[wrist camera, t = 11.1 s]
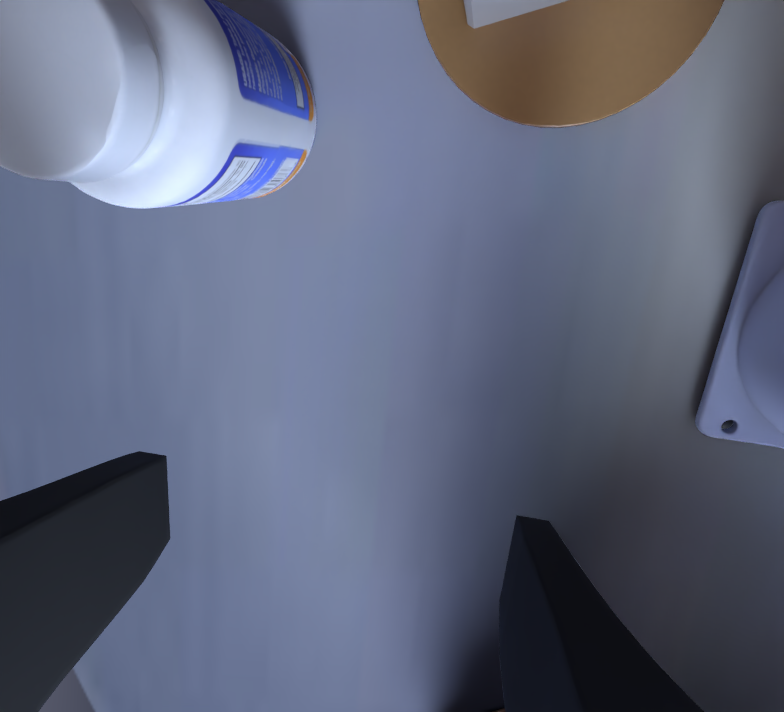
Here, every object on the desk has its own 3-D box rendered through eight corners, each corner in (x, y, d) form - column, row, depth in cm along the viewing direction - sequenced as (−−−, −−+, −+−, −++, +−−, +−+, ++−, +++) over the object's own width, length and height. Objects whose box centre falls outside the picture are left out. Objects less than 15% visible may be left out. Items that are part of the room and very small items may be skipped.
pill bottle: (182, 13, 18) (-132, -156, 9) (334, 48, 18) (167, -91, 8) (169, 179, 20) (-103, 178, 11) (306, 215, 19) (143, 246, 10)
